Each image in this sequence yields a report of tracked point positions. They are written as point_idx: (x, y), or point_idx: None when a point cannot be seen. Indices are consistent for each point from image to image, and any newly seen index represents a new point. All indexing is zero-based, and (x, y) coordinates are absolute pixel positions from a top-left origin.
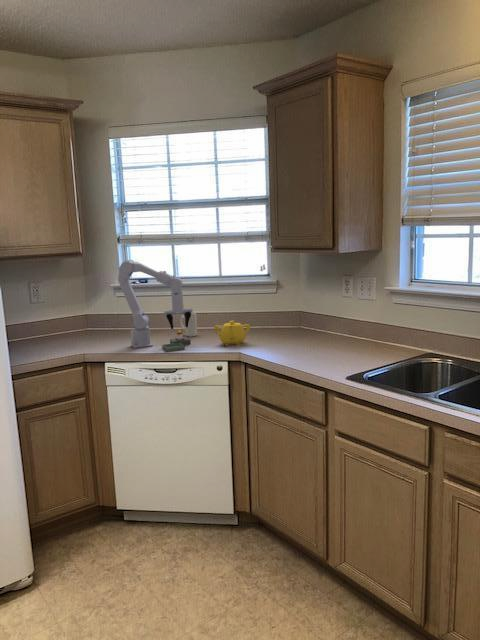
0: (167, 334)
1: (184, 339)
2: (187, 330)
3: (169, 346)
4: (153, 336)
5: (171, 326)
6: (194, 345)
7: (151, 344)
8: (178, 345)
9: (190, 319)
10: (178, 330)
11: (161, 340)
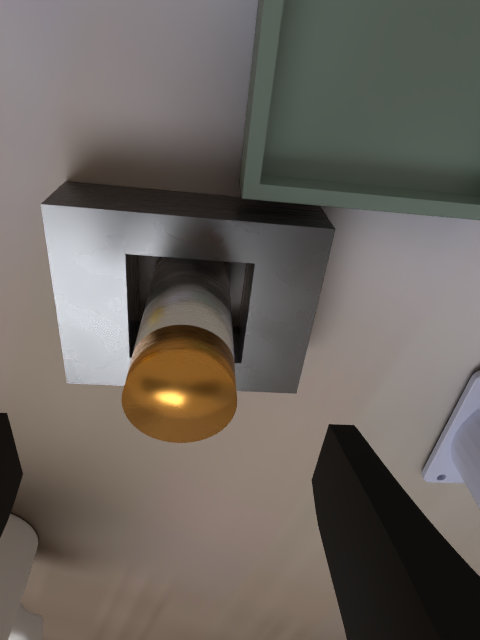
0: (167, 610)
1: (127, 285)
2: (2, 576)
3: (399, 182)
4: (275, 604)
5: (386, 476)
6: (22, 63)
7: (473, 398)
8: (270, 157)
9: None
10: (186, 433)
11: (286, 502)
